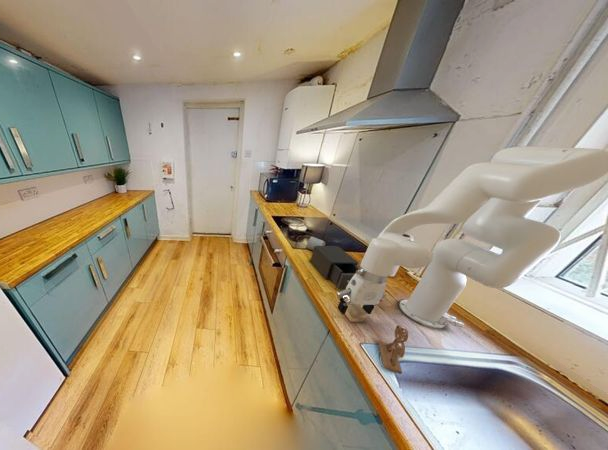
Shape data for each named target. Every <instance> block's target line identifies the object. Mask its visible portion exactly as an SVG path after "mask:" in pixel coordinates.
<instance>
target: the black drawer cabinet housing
mask: <svg viewBox="0 0 608 450" xmlns="http://www.w3.org/2000/svg"><path fill="white" fill-rule="evenodd" d="M309 262H310V263H311V264H312V265H313V266H314V267H315V269H316V270H317V271H318V272H319V273H320V274H321V276H322V277H323V278H324V279H325V280H331V279H330V277H329V273H330V270H331V267H332V265H333V264H355V265H356V266H357V267H358V264H359V261H357V260H356V259H355V258H354V257H353V256H351V255H350V254H348V253H347V252H346V251H345V250H344V249H343V248H341V247H340V246H339V245H325V246H314V250H312V254H311V257H310V261H309Z"/></svg>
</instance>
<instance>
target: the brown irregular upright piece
mask: <svg viewBox="0 0 608 450" xmlns="http://www.w3.org/2000/svg"><path fill="white" fill-rule="evenodd" d="M408 339H409V330H408V329H407V328H405V327H402V326H401V325H400V324H397V325H396V326H395V328H394V340H393V341H392V342H390V343H387V342H384V341H381V340H378V342H377V344H378V348H379V352H380V356H381V360H382V363H383V367H384V368H385V369H387V370H389V371H392V372H394V373H396V374H398V375H402V374H403V370H402V367H401V364H400V360H399V358H404V356H405V353H406V345H405V343H406V342H407V341H408ZM398 357H399V358H398Z"/></svg>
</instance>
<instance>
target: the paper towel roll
mask: <svg viewBox="0 0 608 450" xmlns="http://www.w3.org/2000/svg"><path fill="white" fill-rule="evenodd" d="M402 236H403V237H405V238H407V239H409V240H411V241H413V242H414V240H415V237H414V236H413V235H412V234H410V233H408V232H406V233H404V234H403V235H402ZM400 267H401V266H397V265H394V266H393V268H392V270H391V271H390V273H389V275H388V277H391V278H392V277H395V276H396V274H397V273H398V270H399V268H400Z"/></svg>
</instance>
